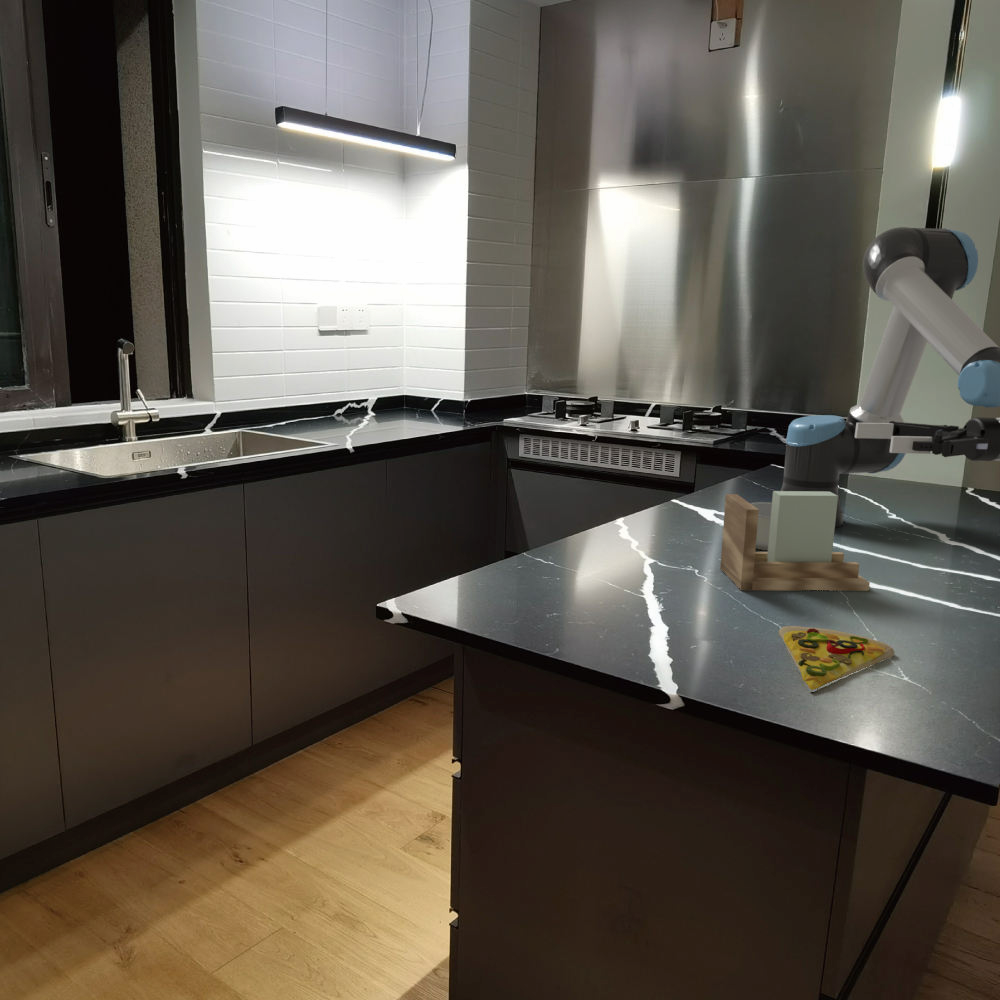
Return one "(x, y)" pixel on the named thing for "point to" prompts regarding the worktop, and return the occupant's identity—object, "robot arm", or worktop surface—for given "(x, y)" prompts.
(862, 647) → the pizza slice
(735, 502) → the track
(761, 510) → the teacup
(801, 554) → the pale green block
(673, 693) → the worktop surface
